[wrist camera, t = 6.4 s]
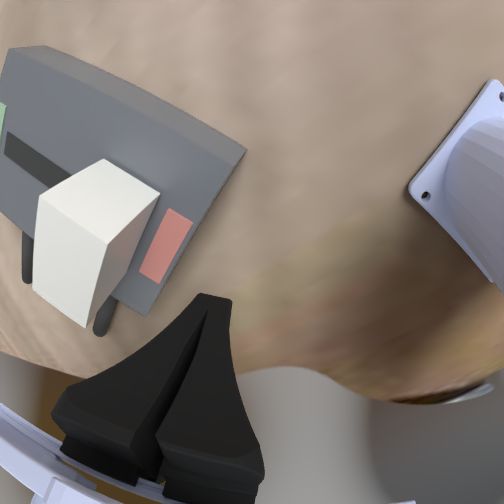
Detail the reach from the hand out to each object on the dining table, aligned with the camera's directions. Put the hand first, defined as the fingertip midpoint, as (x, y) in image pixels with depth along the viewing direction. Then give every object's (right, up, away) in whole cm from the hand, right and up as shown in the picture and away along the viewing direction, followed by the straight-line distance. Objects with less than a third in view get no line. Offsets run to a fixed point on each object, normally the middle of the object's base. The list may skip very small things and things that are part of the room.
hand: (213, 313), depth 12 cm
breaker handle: (-5, +4, 0) cm, 6 cm away
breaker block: (-7, +7, +2) cm, 11 cm away
